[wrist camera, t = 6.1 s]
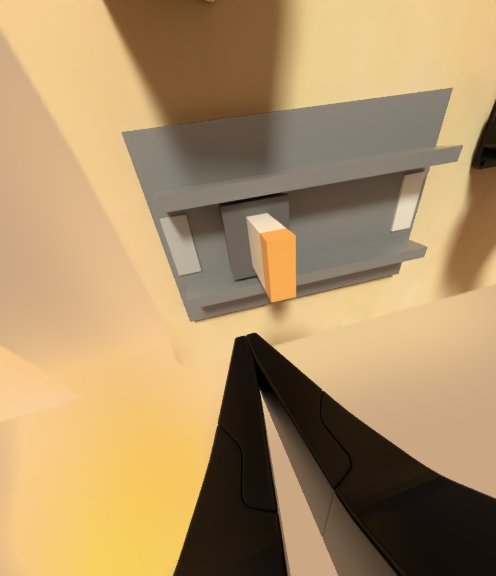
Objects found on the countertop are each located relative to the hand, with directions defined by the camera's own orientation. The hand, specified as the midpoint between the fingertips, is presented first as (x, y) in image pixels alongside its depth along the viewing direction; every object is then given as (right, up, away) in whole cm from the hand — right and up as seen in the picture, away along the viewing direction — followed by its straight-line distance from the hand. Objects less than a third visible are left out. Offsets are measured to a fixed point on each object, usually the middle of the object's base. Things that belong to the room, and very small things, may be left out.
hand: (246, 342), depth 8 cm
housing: (+4, +8, +12) cm, 15 cm away
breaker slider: (+1, +7, +10) cm, 12 cm away
